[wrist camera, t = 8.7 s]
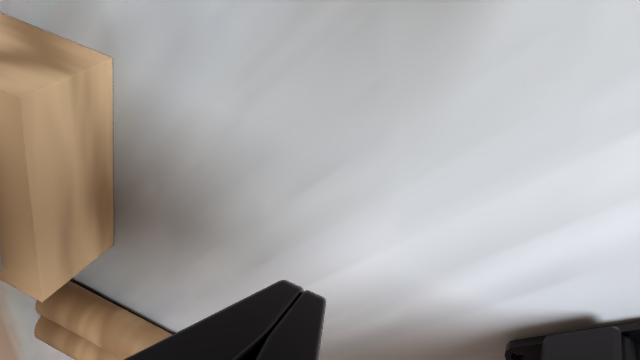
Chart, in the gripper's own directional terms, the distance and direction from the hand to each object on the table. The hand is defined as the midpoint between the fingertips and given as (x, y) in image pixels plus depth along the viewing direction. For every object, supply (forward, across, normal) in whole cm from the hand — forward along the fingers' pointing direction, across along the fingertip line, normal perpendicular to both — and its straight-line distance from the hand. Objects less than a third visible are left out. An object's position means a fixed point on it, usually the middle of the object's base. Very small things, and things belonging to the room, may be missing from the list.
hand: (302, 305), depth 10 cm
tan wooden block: (+12, +18, +9) cm, 23 cm away
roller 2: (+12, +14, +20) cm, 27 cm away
